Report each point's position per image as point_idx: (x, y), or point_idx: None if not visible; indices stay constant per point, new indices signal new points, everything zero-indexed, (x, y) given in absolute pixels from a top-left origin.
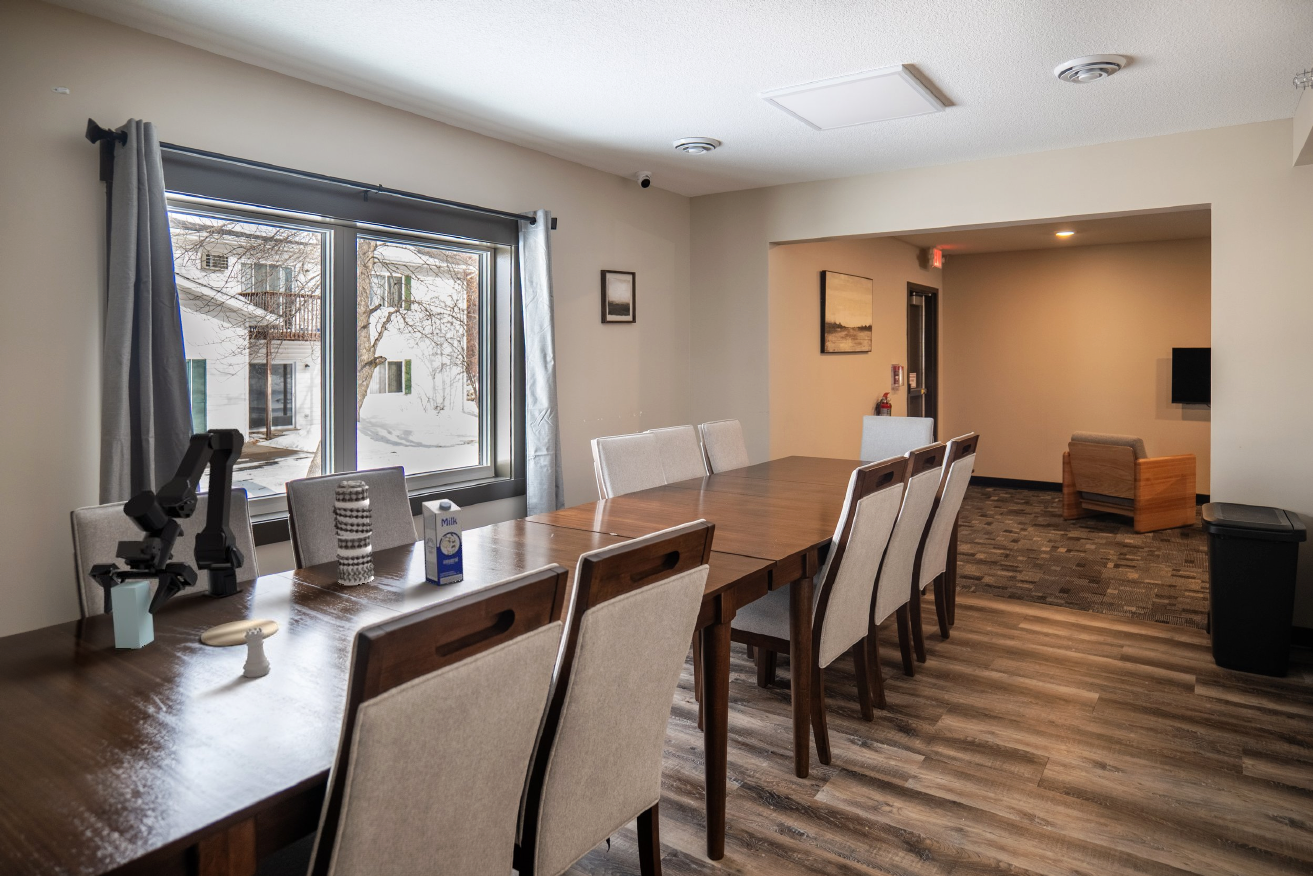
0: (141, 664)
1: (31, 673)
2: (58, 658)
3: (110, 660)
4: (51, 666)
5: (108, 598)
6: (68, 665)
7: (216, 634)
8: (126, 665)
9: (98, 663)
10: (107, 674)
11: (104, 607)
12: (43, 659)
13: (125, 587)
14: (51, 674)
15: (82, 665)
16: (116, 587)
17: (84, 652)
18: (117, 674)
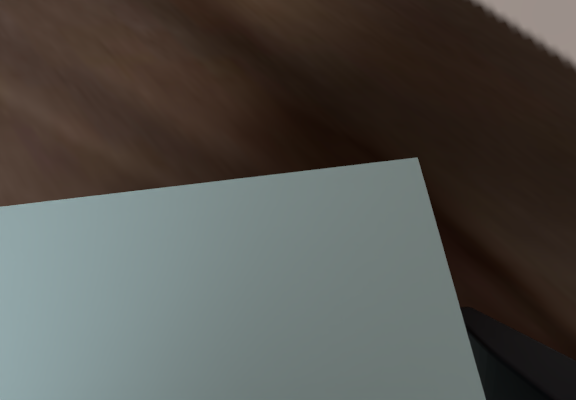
0: (35, 147)
1: (445, 37)
2: (503, 182)
3: (220, 179)
4: (436, 100)
5: (565, 398)
6: (370, 114)
7: None
8: (100, 132)
9: (250, 143)
10: (121, 49)
11: (505, 329)
12: (562, 166)
13: (97, 236)
14: (353, 34)
15: (306, 118)
16: (337, 225)
17: (450, 267)
18: (79, 52)
